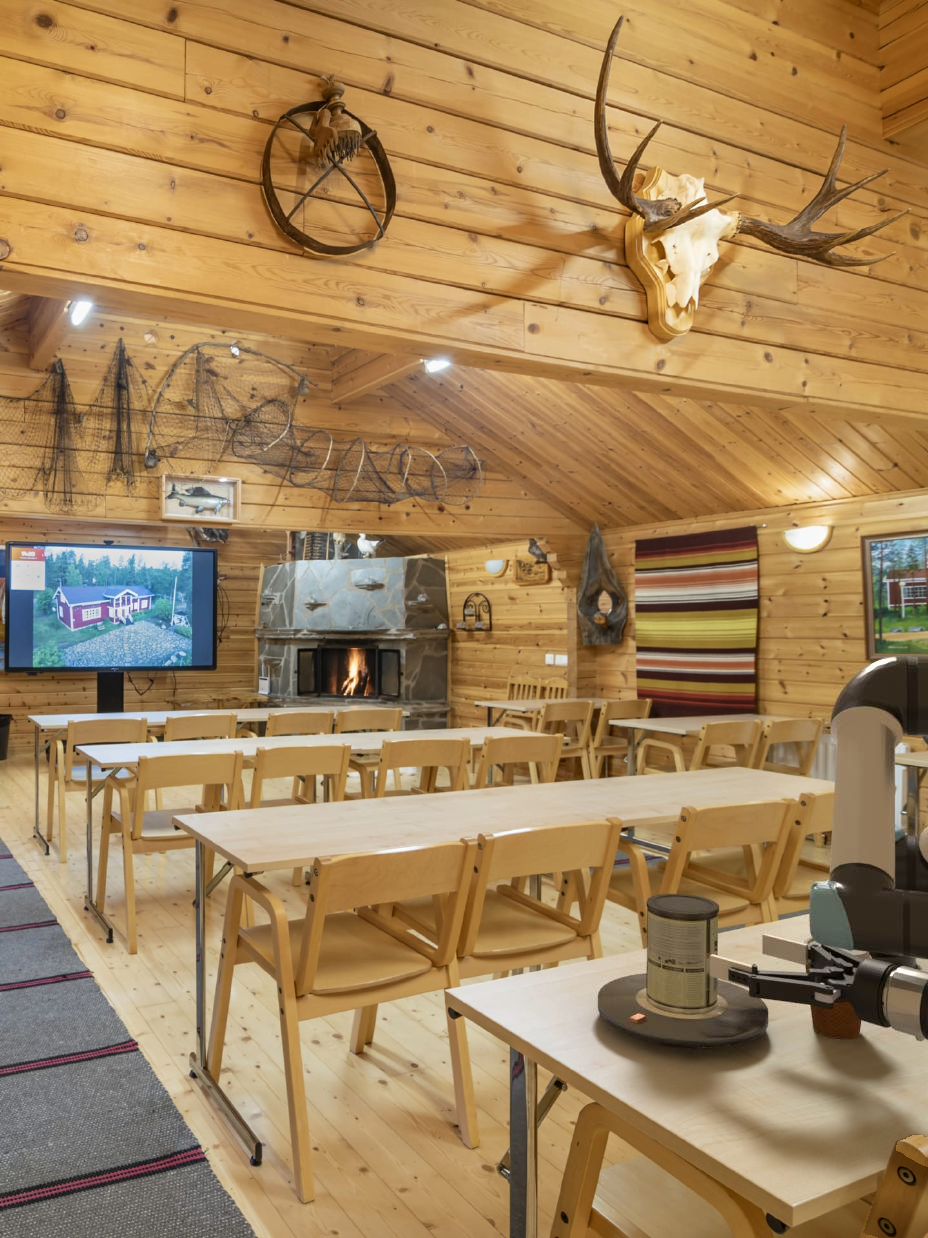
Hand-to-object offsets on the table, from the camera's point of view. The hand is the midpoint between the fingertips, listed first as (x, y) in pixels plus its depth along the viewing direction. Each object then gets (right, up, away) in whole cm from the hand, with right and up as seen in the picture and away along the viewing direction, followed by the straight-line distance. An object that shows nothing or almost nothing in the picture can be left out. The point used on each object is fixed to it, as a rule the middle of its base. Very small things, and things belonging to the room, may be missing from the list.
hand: (738, 954), depth 129 cm
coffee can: (-6, -9, +6) cm, 13 cm away
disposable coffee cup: (+16, -13, +5) cm, 21 cm away
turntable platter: (-6, -11, +6) cm, 14 cm away
